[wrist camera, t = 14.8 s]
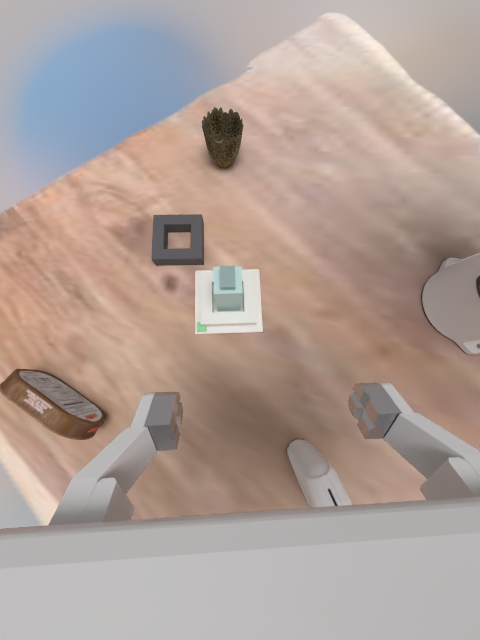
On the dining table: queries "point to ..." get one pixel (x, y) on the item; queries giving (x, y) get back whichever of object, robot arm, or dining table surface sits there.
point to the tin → (53, 403)
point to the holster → (178, 224)
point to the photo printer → (316, 476)
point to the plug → (228, 287)
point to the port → (227, 321)
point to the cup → (222, 135)
